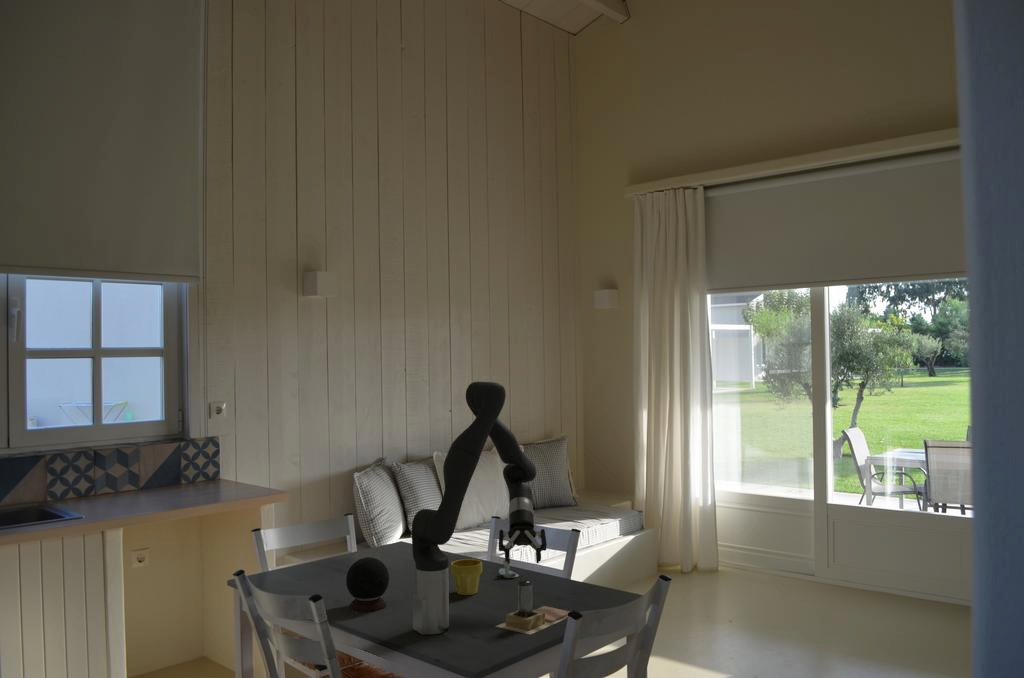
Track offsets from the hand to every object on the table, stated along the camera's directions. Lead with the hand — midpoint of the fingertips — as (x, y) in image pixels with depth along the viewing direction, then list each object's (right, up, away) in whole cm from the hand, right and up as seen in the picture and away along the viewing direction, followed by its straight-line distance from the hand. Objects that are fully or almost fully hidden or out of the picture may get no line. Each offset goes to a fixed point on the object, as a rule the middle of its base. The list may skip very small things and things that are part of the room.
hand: (523, 561), depth 236 cm
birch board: (+4, -16, -6) cm, 18 cm away
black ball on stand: (-48, -18, +12) cm, 52 cm away
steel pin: (0, -15, -11) cm, 18 cm away
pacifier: (-4, -19, +48) cm, 51 cm away
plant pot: (-18, -18, +27) cm, 37 cm away
